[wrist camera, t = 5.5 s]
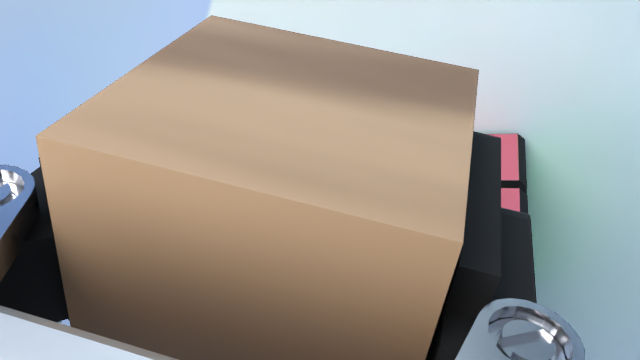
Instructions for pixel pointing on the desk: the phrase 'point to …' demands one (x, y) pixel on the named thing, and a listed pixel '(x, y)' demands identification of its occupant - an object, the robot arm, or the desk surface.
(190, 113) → the light brown cube
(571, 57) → the desk surface
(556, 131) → the desk surface
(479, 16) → the desk surface
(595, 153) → the desk surface
